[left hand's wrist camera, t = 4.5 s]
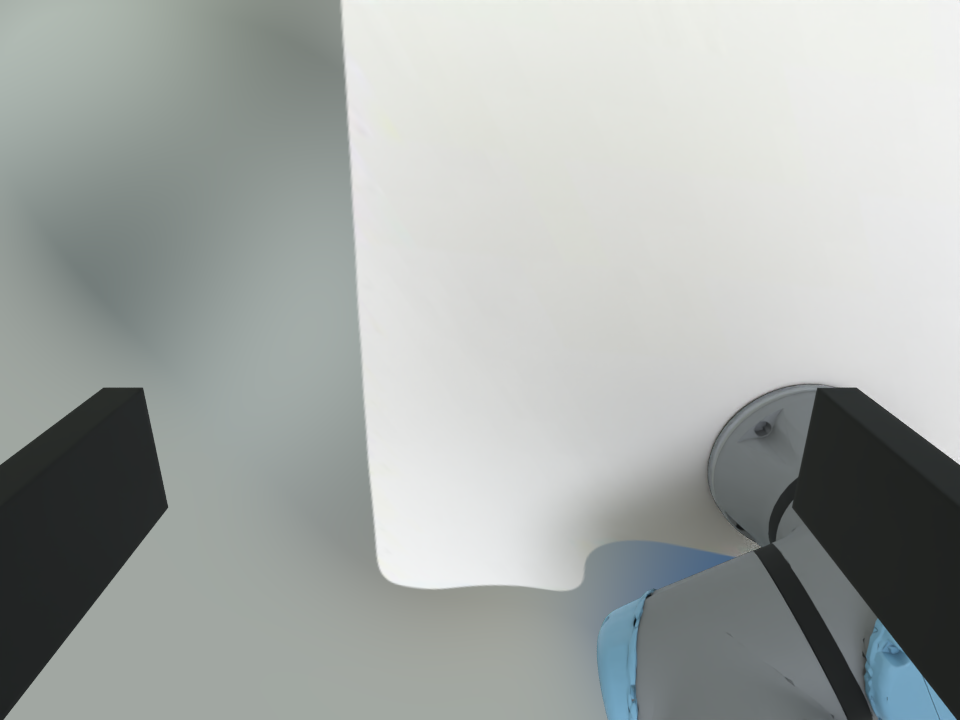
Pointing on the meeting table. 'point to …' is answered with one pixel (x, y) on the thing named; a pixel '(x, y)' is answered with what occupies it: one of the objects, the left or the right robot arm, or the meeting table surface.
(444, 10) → the meeting table surface
